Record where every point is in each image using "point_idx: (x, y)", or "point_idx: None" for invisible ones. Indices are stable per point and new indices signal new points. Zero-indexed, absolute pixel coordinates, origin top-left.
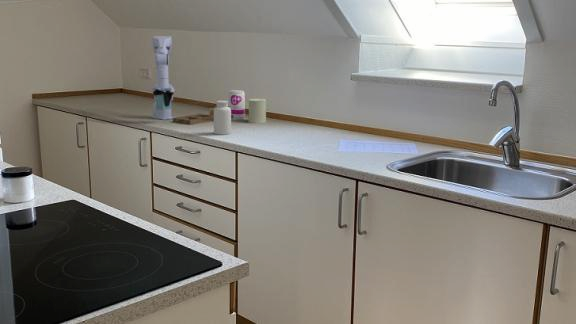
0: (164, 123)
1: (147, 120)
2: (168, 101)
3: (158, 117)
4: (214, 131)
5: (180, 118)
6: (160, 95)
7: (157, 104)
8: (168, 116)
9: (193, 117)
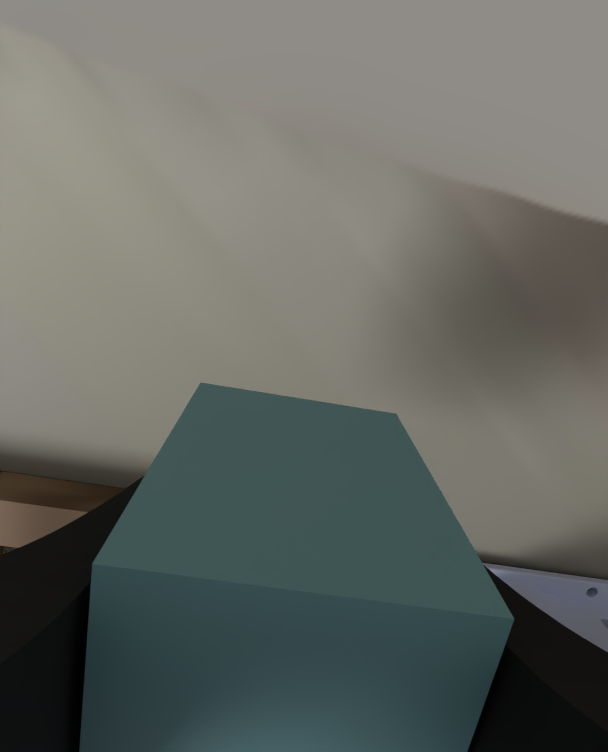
0: (259, 375)
1: (582, 443)
2: None
3: (523, 586)
4: None
5: None
6: (315, 664)
7: (376, 449)
8: None
9: None
